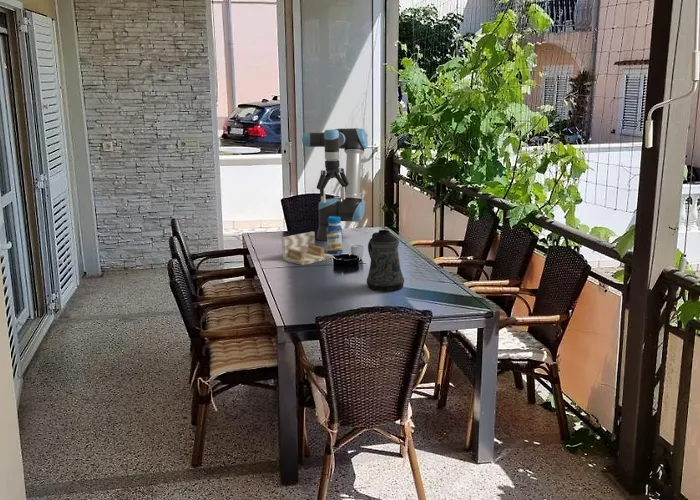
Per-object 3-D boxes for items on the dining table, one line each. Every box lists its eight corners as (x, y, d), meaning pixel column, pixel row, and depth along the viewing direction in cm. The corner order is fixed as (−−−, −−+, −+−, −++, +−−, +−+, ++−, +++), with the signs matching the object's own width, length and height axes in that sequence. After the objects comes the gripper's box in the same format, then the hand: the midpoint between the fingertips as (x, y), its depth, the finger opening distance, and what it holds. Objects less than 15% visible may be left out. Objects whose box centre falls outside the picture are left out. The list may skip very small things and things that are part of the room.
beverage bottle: (345, 252, 366) (344, 216, 362) (338, 256, 359) (337, 218, 354) (331, 251, 370) (330, 215, 365) (324, 255, 362) (323, 217, 358)
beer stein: (392, 294, 290) (392, 236, 285) (354, 288, 300) (352, 232, 295) (410, 284, 304) (410, 229, 298) (372, 279, 314) (372, 225, 308)
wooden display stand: (312, 253, 367) (312, 231, 364) (332, 258, 355) (332, 235, 353) (283, 260, 354) (282, 237, 351) (302, 265, 342) (301, 241, 340)
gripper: (345, 157, 364) (346, 197, 369) (308, 161, 348) (310, 202, 352) (354, 158, 359) (355, 198, 363) (318, 162, 342) (319, 204, 347)
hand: (333, 200), depth 358 cm, fingers open, 13 cm apart
